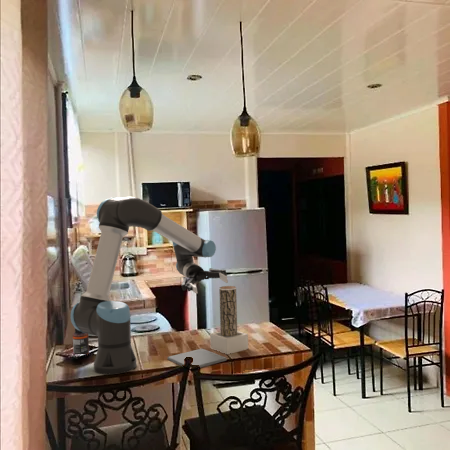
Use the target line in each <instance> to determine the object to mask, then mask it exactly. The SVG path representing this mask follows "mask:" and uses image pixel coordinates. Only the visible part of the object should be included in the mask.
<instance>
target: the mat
mask: <svg viewBox="0 0 450 450" xmlns="http://www.w3.org/2000/svg"><path fill="white" fill-rule="evenodd" d="M186 357H192V358H193V363H192V365H199V366H200V368H203V367H204V368H205V367H208V366H211V365H215V364H218V363H221V362H226V361H227V360H228V358H227V357H225V356H223V355H220V354H217V353H215V352H212V351H210V350H207V349H205V348H198V349H194V350H190V351H187V352H181V353H177V354H175V355H170V356H167V360H168V361H170V362H172V363H174V364H176V365H179V366H180V367H183V366H182V365H184V359H185V358H186Z"/></svg>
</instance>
